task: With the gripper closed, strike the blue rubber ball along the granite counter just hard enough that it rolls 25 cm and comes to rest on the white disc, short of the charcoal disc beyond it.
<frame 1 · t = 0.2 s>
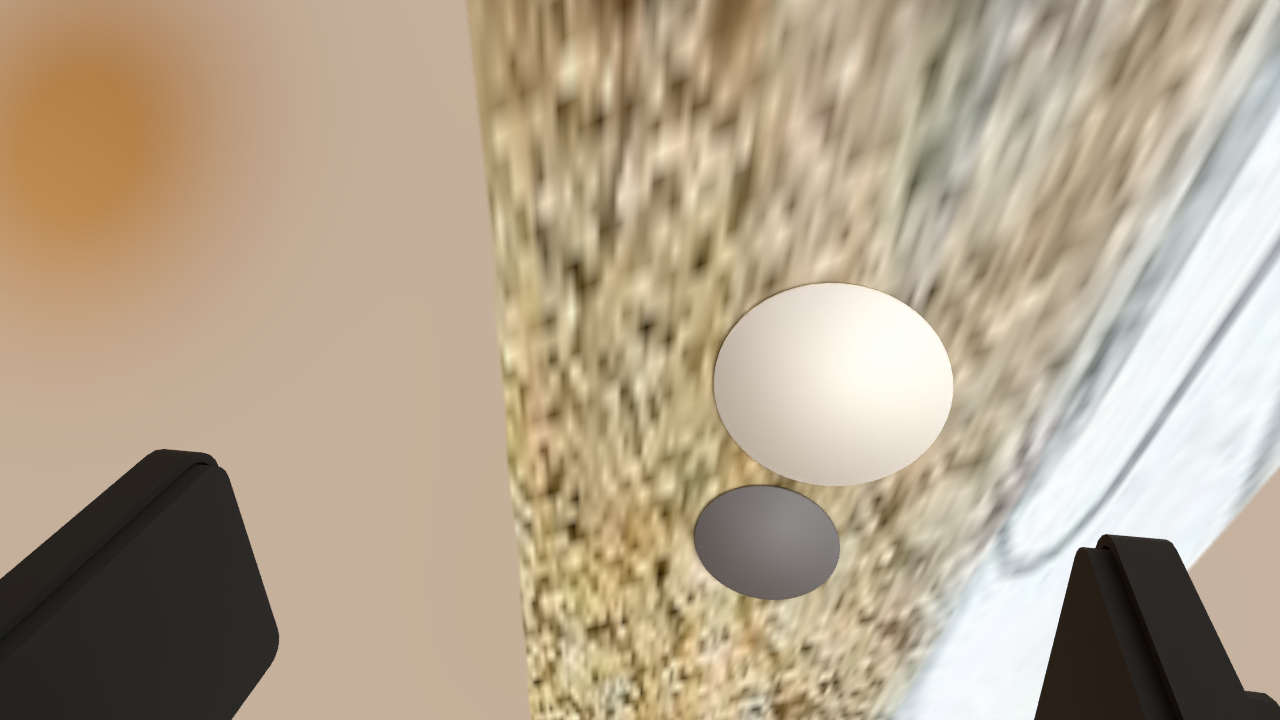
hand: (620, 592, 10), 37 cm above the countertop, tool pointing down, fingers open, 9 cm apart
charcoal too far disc: (766, 543, 56), on the countertop
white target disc: (830, 389, 50), on the countertop
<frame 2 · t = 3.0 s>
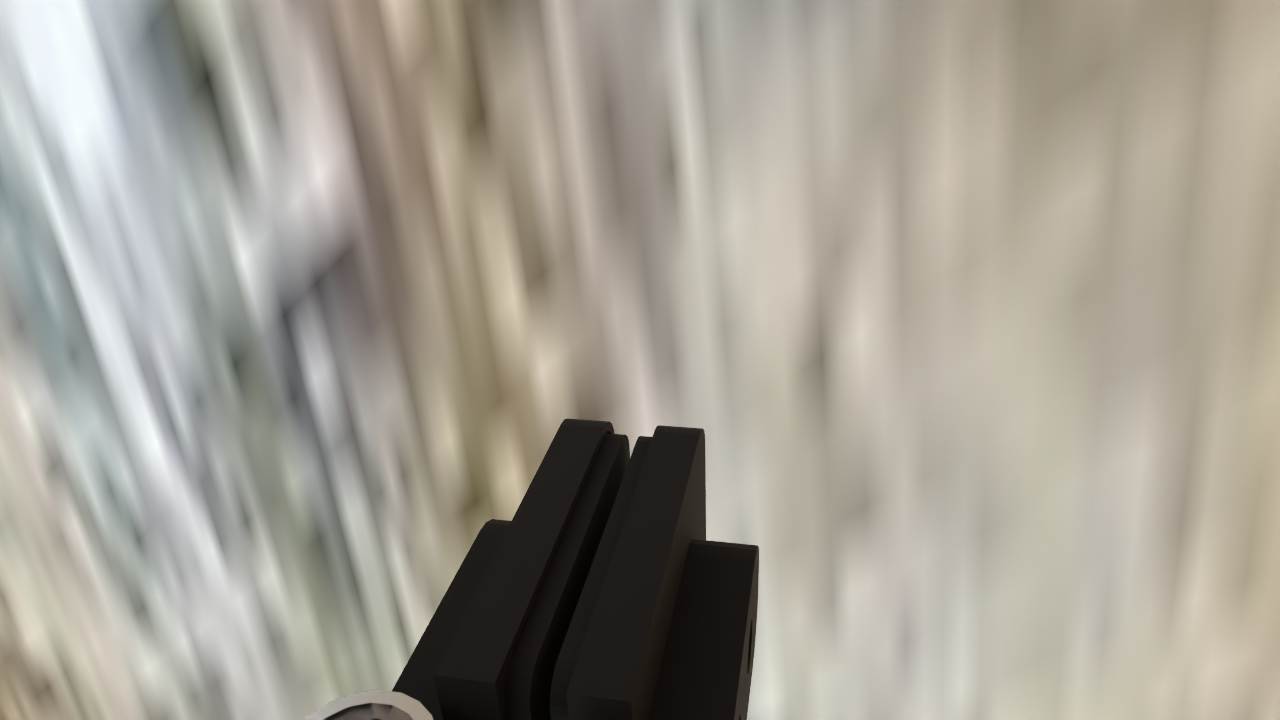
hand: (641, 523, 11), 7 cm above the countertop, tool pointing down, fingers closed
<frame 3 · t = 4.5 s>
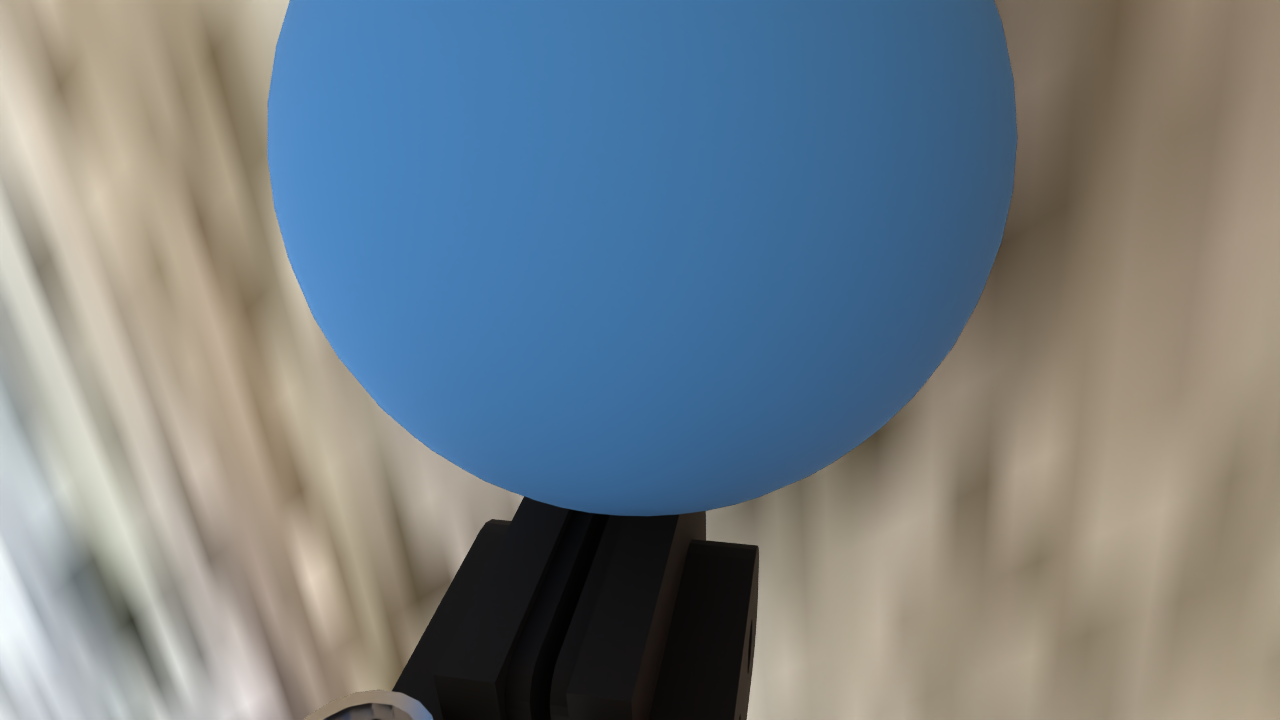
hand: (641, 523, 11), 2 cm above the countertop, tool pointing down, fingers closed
blue ball: (641, 165, 8), on the countertop
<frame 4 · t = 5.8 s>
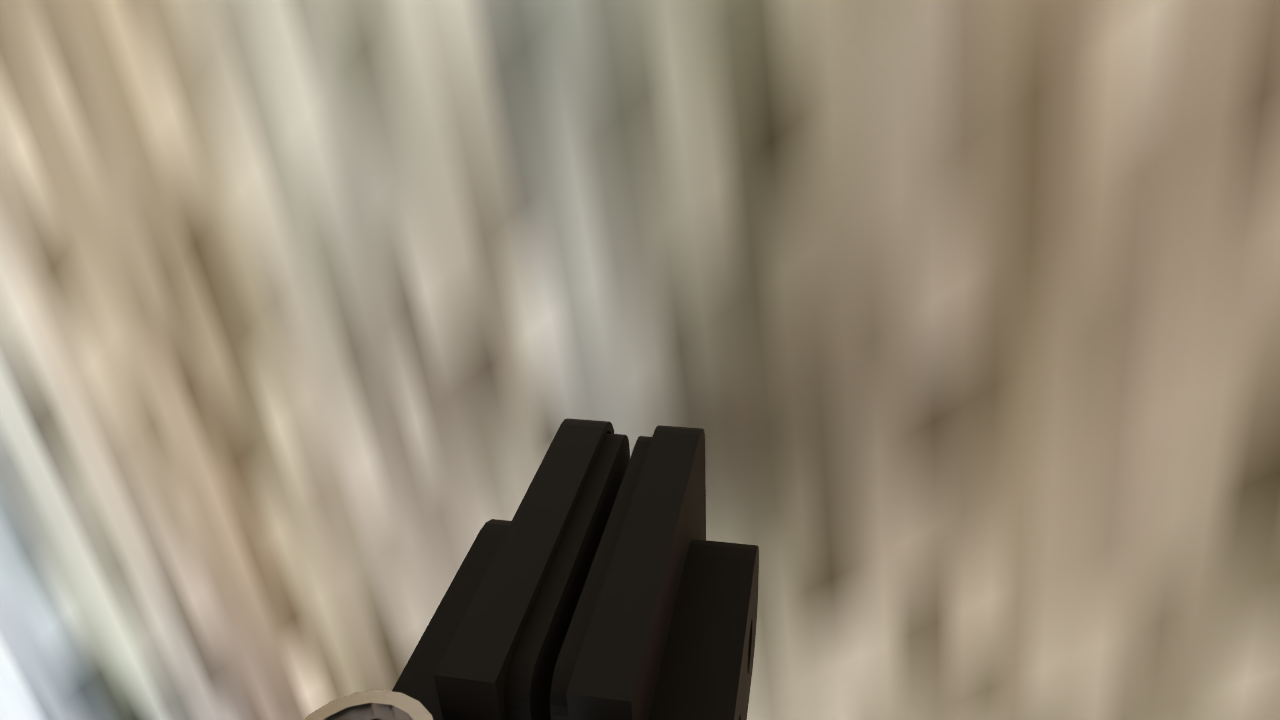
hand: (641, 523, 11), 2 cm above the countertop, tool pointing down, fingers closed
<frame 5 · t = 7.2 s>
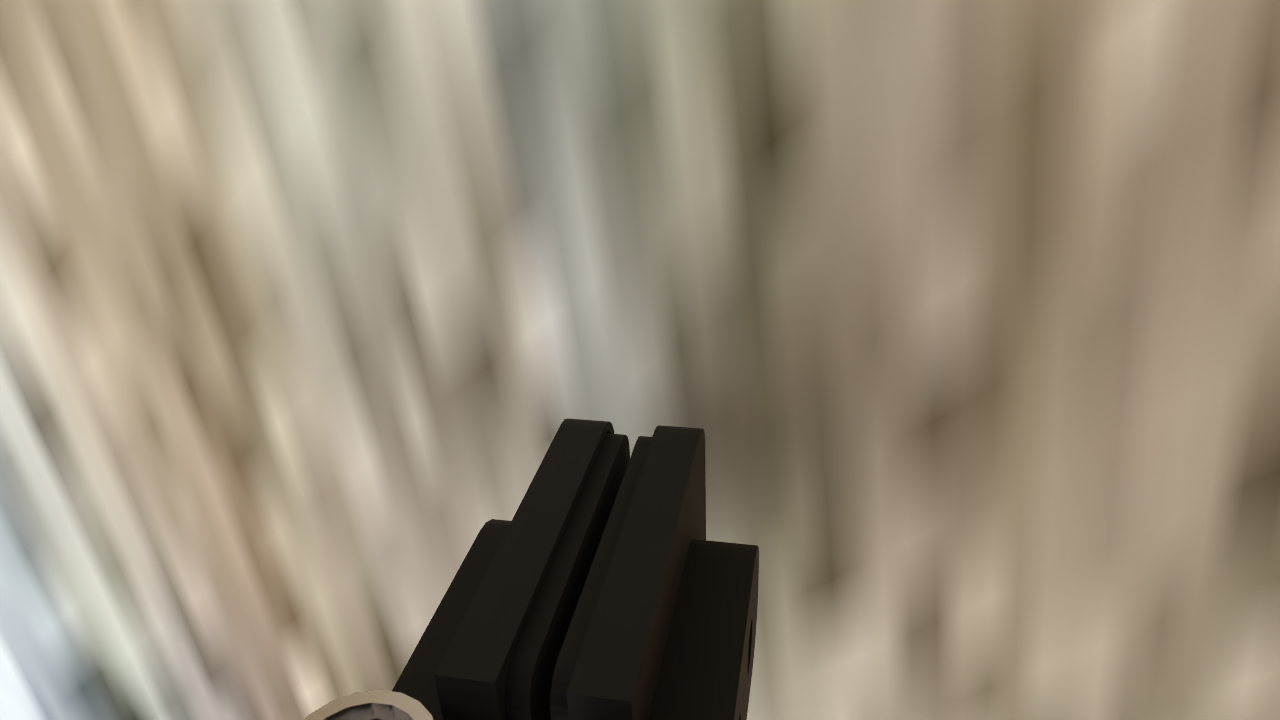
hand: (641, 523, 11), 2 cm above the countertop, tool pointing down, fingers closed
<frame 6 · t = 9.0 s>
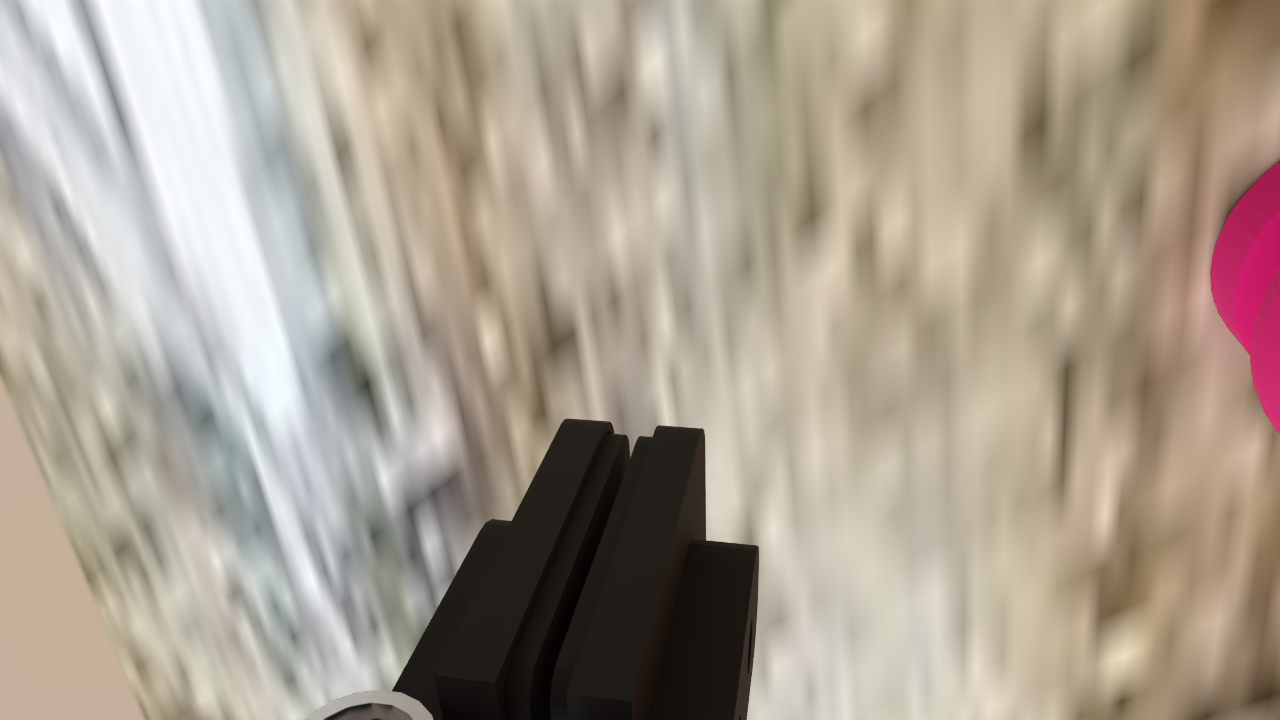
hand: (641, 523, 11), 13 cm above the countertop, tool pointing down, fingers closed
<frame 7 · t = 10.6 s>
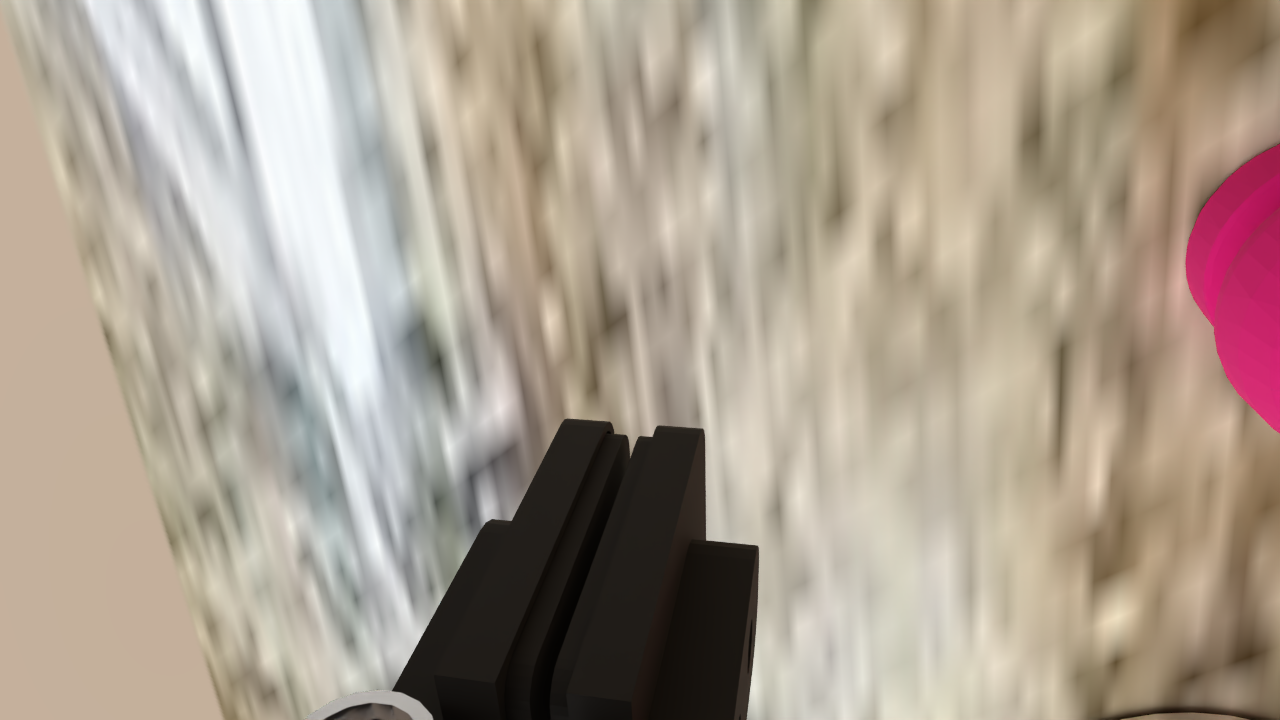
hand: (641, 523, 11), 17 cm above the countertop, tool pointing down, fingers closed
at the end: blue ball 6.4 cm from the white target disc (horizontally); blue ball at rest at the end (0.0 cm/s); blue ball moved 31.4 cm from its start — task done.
